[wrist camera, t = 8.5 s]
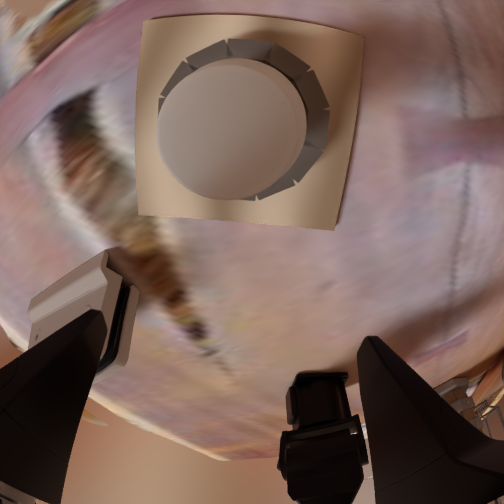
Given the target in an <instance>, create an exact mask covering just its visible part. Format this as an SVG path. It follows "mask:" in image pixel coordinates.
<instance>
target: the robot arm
mask: <svg viewBox="0 0 504 504" xmlns="http://www.w3.org/2000/svg"><path fill="white" fill-rule="evenodd" d="M107 332H108V329H107V325H106V321H105V318H104V315H103V312H102V311H100V310H97V309H90V310H88V311H86V312H85V313H83V314H82V315H80V316H79V317H77V318H75V319H74V320H72V321H71V322H69V323H68V324H66V325H65V326H63V327H62V328H60V329H58V330H57V331H55V332H54V333H52V334H51V335H49V336H48V337H46V338H45V339H43V340H42V341H40V342H39V343H37V344H36V345H35V346H33V347H32V348H30V349H29V350H27V351H26V352H24V353H23V354H21V355H20V356H19V357H17V358H16V359H14V360H13V361H11V362H10V363H8V364H7V365H5V366H4V367H2V368H1V369H0V504H36V502H35V500H36V498H37V499H39V500H42V501H44V502H47V503H49V504H61V497H62V492H63V487H64V482H65V477H66V473H67V468H68V463H69V459H70V455H71V451H72V447H73V443H74V440H75V436H76V433H77V429H78V426H79V422H80V419H81V416H82V413H83V410H84V407H85V403H86V400H87V397H88V395H89V392H90V389H91V386H92V383H93V380H94V378H95V375H96V372H97V369H98V366H99V362H100V358H101V354H102V351H103V347H104V343H105V340H106V336H107ZM357 365H358V375H359V386H360V395H361V401H362V407H363V412H364V418H365V423H366V429H367V435H368V441H369V448H370V455H371V463H372V471H373V479H374V489H375V500H376V504H504V440H495V439H492V438H490V437H488V436H486V435H485V434H484V433H482V432H481V431H480V430H479V429H477V428H476V427H475V426H474V425H473V424H471V423H470V422H469V421H468V420H466V419H465V418H464V417H463V416H462V415H460V414H459V413H458V412H457V411H456V410H455V409H454V408H453V407H452V406H451V405H449V404H448V403H447V402H446V401H445V400H444V399H443V398H441V396H440V395H439V394H438V393H437V392H436V391H435V390H434V389H433V388H432V387H431V386H430V385H429V384H428V383H427V382H426V381H425V380H424V379H423V378H421V377H420V376H419V375H418V374H417V373H416V372H415V371H414V370H413V369H412V368H411V367H410V366H409V365H408V364H407V363H406V362H405V361H404V360H403V359H401V358H400V357H399V356H398V355H397V354H396V353H395V352H394V351H393V350H392V349H391V348H390V347H389V346H388V345H387V344H385V343H384V342H383V341H382V340H381V339H380V338H379V337H378V336H366V337H365V338H364V340H363V342H362V344H361V346H360V348H359V350H358V352H357ZM348 378H349V375H348V373H327V374H298V375H296V377H295V379H294V382H293V384H292V386H291V387H289V389H288V392H287V394H286V410H287V423H288V424H289V425H292V427H293V430H291V431H282V436H281V439H280V452H279V460H278V464H277V469H278V470H280V471H281V473H282V476H283V478H284V480H285V481H287V485H288V494H289V496H290V497H291V499H292V500H294V501H296V502H297V503H298V504H352V503H353V501H354V499H355V497H356V495H357V493H358V491H359V489H360V487H361V484H362V482H363V479H364V474H363V468H362V466H363V465H366V464H368V463H369V462H368V455H367V449H366V444H365V439H364V435H363V431H362V427H361V423H360V419H359V415H358V414H356V415H354V416H352V415H351V411H350V406H349V402H348V398H347V393H346V389H345V385H344V384H345V382H346V381H347V379H348ZM355 432H356V434H351V433H355Z"/></svg>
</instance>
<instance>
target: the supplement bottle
mask: <svg viewBox="0 0 504 504" xmlns="http://www.w3.org/2000/svg"><path fill="white" fill-rule="evenodd" d="M306 128H307V122H306V113H305V109H304V105H303V102H302V100H301V97H300V95H299V93H298V92H297V90H296V89H295V87H294V86H293V84H292V83H291V82H290V81H289V80H288V79H287V78H286V77H285V76H284V75H283V74H282V73H280V72H279V71H277V70H276V69H274V68H272V67H271V66H269V65H266V64H264V63H261V62H259V61H255V60H251V59H243V58H230V59H223V60H218V61H215V62H212V63H209V64H207V65H205V66H203V67H201V68H199V69H197V70H196V71H194V72H193V73H191V74H190V75H188V76H187V77H185V78H184V79H183V80H181V81H180V82H179V83H178V84H177V85H176V86H175V87H174V88H173V89H172V90H171V92H170V93H169V94H168V96H167V97H166V99H165V101H164V103H163V105H162V107H161V110H160V112H159V116H158V120H157V126H156V138H157V145H158V150H159V153H160V156H161V158H162V161H163V163H164V164H165V166H166V168H167V169H168V171H169V172H170V173H171V175H172V176H173V177H174V178H175V179H176V180H177V181H178V182H179V183H180V184H182V185H183V186H184V187H186V188H187V189H189V190H190V191H192V192H194V193H196V194H198V195H201V196H203V197H207V198H211V199H216V200H237V199H243V198H246V197H250V196H253V195H255V194H258V193H260V192H261V191H263V190H265V189H267V188H268V187H270V186H271V185H272V184H273V183H275V182H276V181H277V180H278V179H279V178H280V177H281V176H283V175H284V174H285V173H286V172H287V171H288V170H289V169H290V168H291V166H292V165H293V164H294V162H295V161H296V159H297V158H298V156H299V154H300V152H301V150H302V147H303V144H304V141H305V136H306Z"/></svg>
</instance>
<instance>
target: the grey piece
mask: <svg viewBox="0 0 504 504" xmlns="http://www.w3.org/2000/svg"><path fill="white" fill-rule="evenodd" d="M108 255H109V254H108V253H107V252H106V251H105V250H104V251H103V252H101V253H99V254H98V255H96V256H95V257H93V258H91V259H90V260H88V261H87V262H85V263H84V264H82V265H81V266H79V267H78V268H76V269H75V270H73V271H72V272H70V273H69V274H67V275H66V276H64V277H63V278H61V279H60V280H58V281H57V282H55V283H54V284H53V285H51V286H50V287H48V288H47V289H45V290H44V291H43V292H41V293H40V294H39V295H37V296H36V297H34V298H33V299H32V300H31V302H30V305H29V308H28V315H29V317H30V320H31V322H32V328H31V333H30V339H29V346H28V350H29V349H30V348H32V347H33V346H35V345H36V344H37V343H39V342H40V341H42V340H43V339H45V338H46V337H48V336H49V335H51V334H52V333H54V332H55V331H57V330H58V329H60V328H62V327H63V326H65V325H66V324H68V323H69V322H71V321H72V320H74V319H75V318H77V317H79V316H80V315H82V314H83V313H85V312H86V311H88V310H90V309H97V310H100V311H102V312H103V315H104V318H105V321H106V325H107V329H108V332H107V336H106V340H105V343H104V347H103V351H102V354H101V358H100V362H99V366H98V369H97V372H96V375H95V378H94V380H93V383H92V385H93V384H95V383H98V382H100V381H102V380H104V379H106V378H108V377H109V376H111V375H113V374H114V373H116V372H117V371H118V370H120V369H121V368H122V367H124V366H125V364H126V363H127V360H128V357H129V350H130V343H131V337H132V331H133V326H134V320H135V315H136V310H137V305H138V300H139V295H140V293H139V291H138V289H137V288H136V287H135V286H134V285H131V286H129V287H128V286H126V287H124V288H122V287H123V282H122V278H123V277H122V276H120V275H119V274H117V273H115V272H114V271H112V270H110V269H108V268H107V267H106V264H107V260H108Z"/></svg>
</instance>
